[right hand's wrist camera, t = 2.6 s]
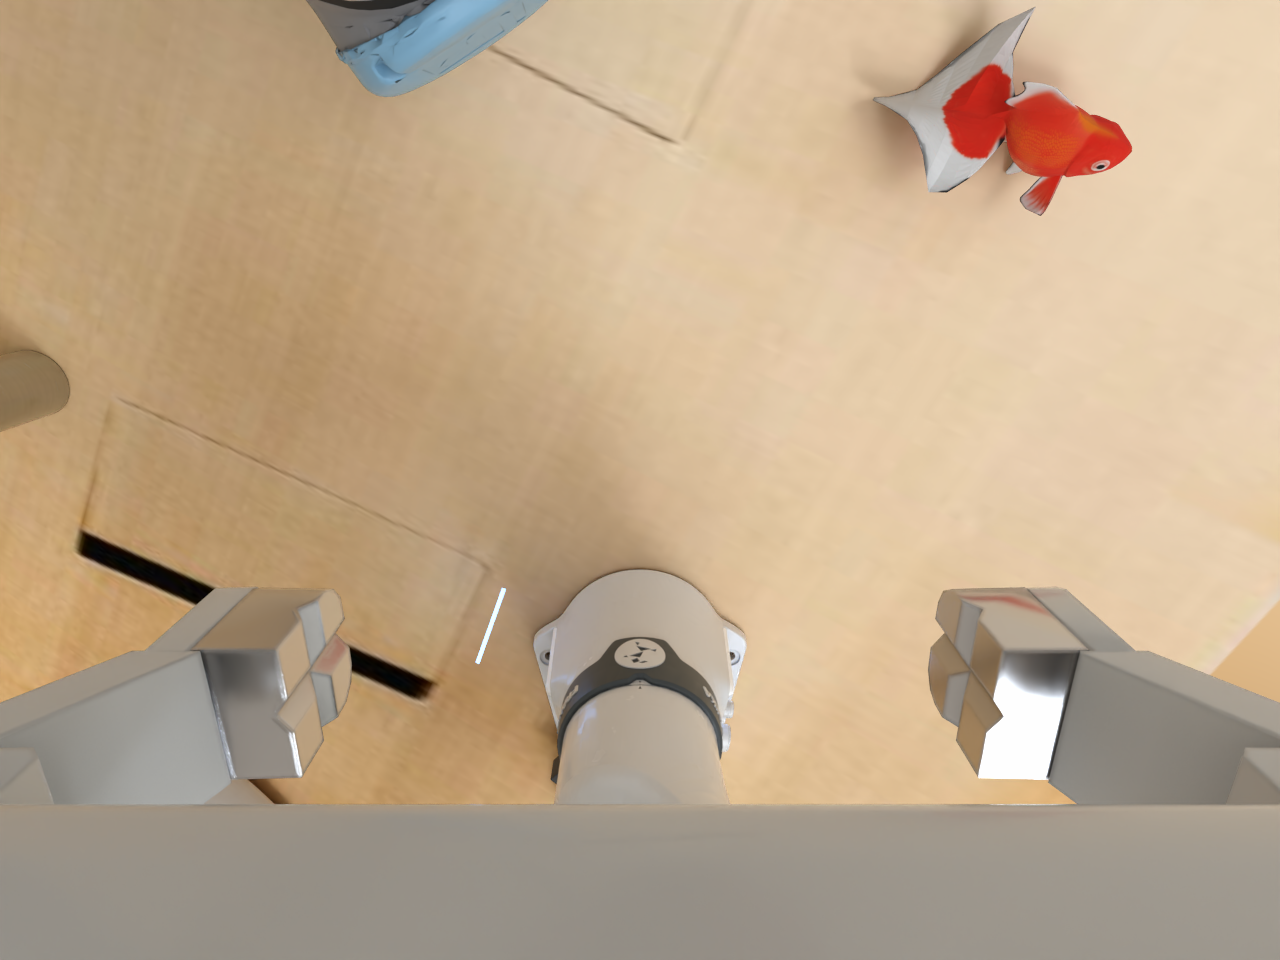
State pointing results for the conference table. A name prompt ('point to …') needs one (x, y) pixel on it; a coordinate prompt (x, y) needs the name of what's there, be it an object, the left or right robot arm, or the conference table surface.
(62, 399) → the jar
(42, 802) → the right robot arm
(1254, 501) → the conference table surface
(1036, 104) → the fish
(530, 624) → the conference table surface
